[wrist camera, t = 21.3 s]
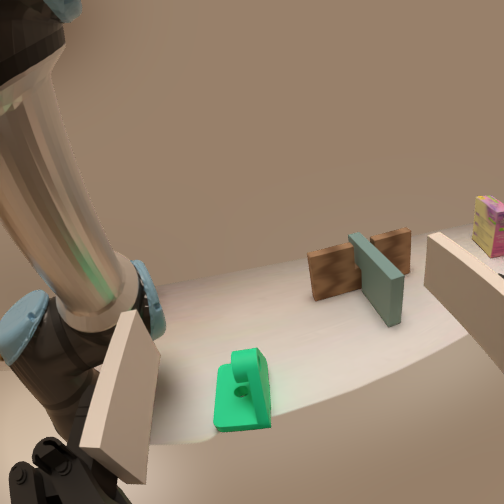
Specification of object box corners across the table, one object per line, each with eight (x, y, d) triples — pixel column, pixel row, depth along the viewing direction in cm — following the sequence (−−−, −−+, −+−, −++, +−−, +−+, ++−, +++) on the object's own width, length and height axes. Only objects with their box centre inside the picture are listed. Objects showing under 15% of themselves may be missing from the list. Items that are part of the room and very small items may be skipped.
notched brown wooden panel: (315, 301, 60) (309, 257, 55) (312, 295, 62) (306, 253, 57) (409, 272, 60) (411, 230, 55) (405, 268, 62) (406, 227, 57)
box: (506, 255, 54) (513, 210, 49) (490, 258, 55) (496, 212, 50) (487, 236, 63) (491, 194, 58) (471, 239, 64) (475, 196, 59)
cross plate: (388, 327, 48) (391, 279, 44) (350, 276, 64) (348, 234, 60) (400, 322, 48) (404, 275, 44) (361, 273, 64) (359, 232, 60)
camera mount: (222, 375, 48) (203, 330, 43) (268, 368, 47) (255, 322, 43) (218, 436, 37) (193, 396, 32) (272, 431, 36) (257, 389, 32)
